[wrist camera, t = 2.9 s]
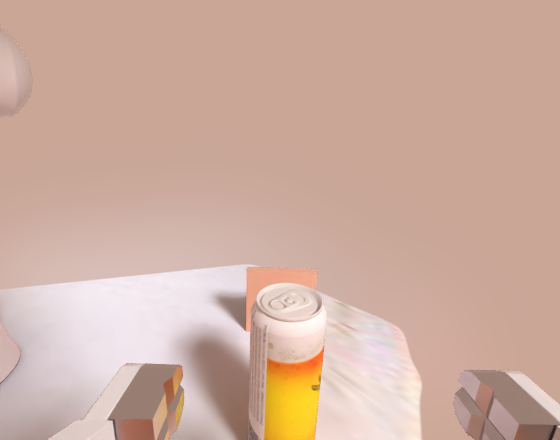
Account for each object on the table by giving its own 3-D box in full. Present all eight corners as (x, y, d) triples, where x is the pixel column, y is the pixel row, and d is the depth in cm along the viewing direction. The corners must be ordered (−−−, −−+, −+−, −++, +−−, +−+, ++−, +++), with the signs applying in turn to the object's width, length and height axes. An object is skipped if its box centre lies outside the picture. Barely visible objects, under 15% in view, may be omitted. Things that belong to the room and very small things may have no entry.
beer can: (327, 448, 24) (344, 303, 20) (275, 501, 20) (285, 334, 16) (284, 399, 28) (292, 274, 25) (236, 435, 24) (236, 293, 21)
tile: (311, 333, 39) (316, 272, 37) (245, 331, 39) (246, 270, 36) (310, 327, 41) (315, 268, 38) (246, 325, 40) (247, 266, 38)
